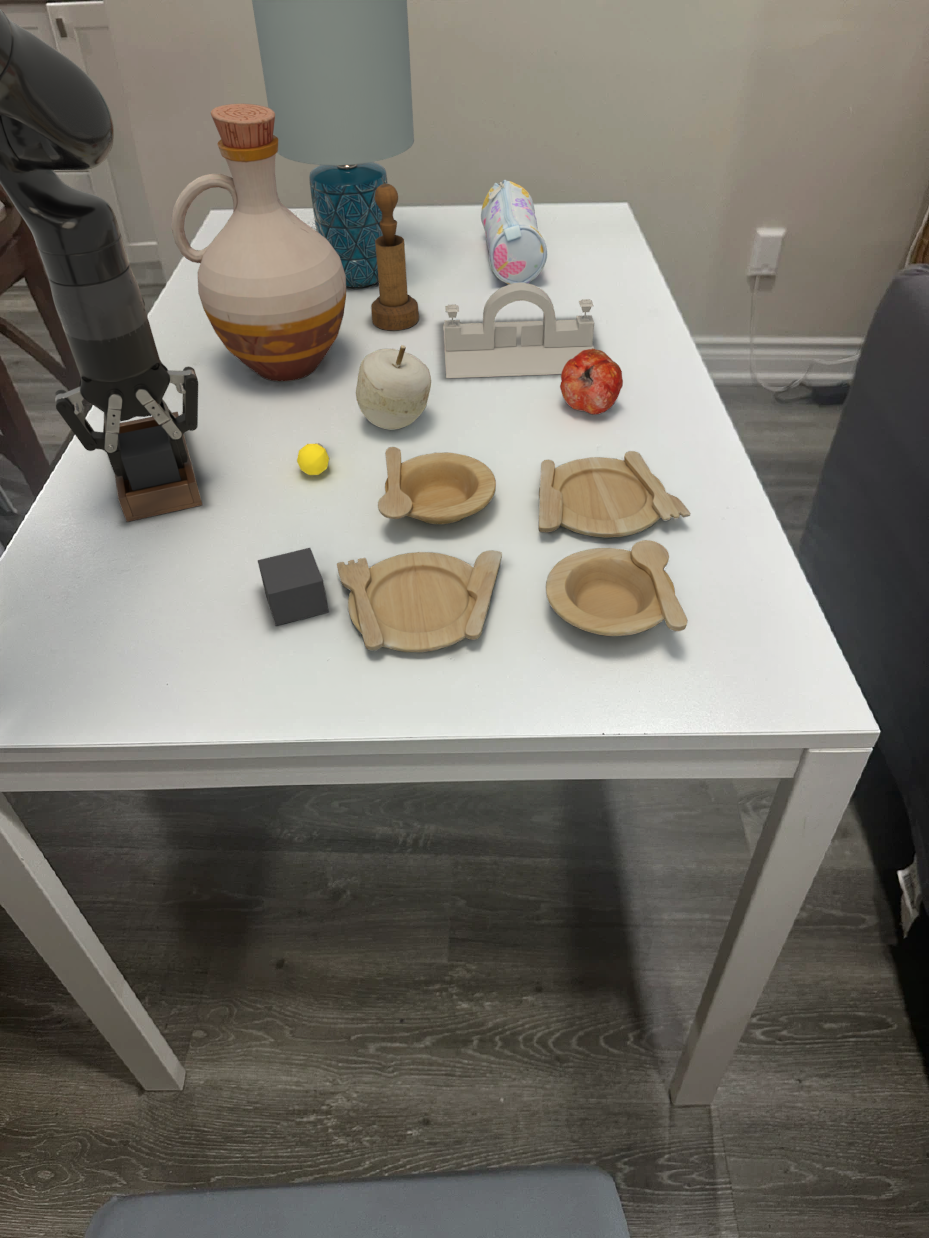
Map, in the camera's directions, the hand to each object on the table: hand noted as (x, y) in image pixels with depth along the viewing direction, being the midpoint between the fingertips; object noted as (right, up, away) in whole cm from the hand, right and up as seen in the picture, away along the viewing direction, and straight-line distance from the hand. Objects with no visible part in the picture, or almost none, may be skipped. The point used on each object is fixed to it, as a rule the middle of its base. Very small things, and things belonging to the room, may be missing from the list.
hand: (153, 469), depth 92 cm
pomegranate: (+48, +10, +14) cm, 51 cm away
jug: (+9, +17, +22) cm, 29 cm away
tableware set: (+38, -9, -6) cm, 40 cm away
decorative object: (+25, +7, +11) cm, 28 cm away
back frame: (-1, 0, +5) cm, 5 cm away
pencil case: (+41, +40, +44) cm, 72 cm away
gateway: (+40, +20, +24) cm, 52 cm away
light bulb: (+16, +1, +5) cm, 17 cm away
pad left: (0, 0, 0) cm, 0 cm away
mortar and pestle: (+23, +26, +31) cm, 47 cm away
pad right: (+17, -14, -10) cm, 25 cm away
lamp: (+17, +37, +41) cm, 58 cm away
